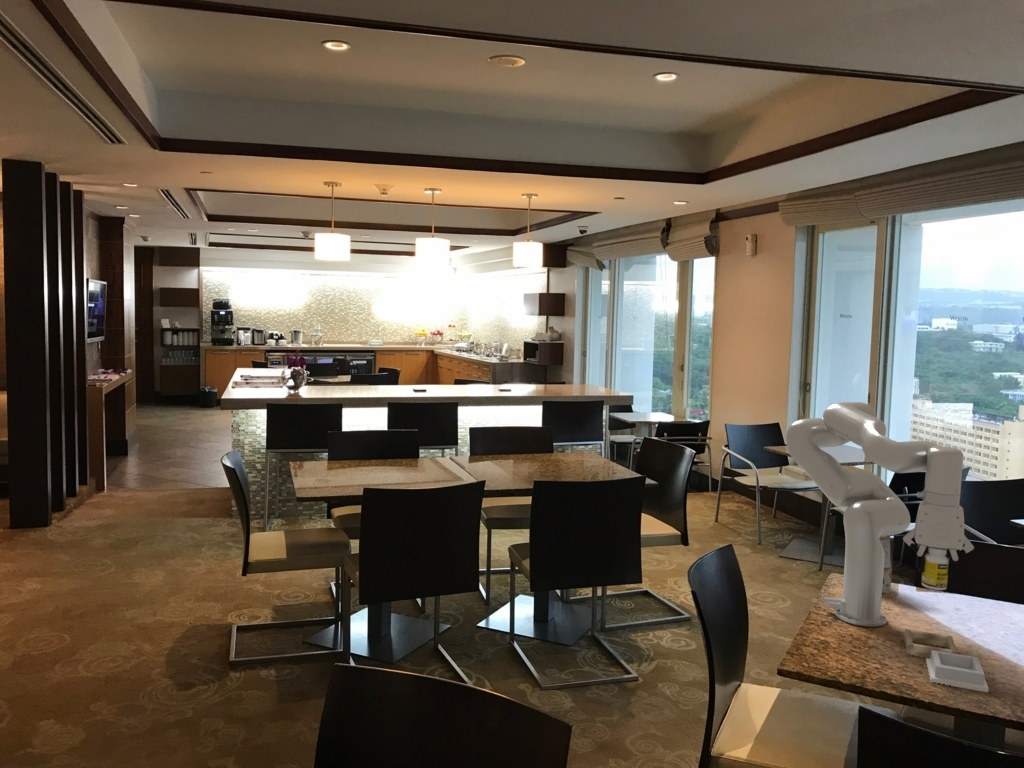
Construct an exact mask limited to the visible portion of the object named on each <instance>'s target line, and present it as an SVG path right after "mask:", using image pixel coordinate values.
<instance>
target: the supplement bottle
mask: <svg viewBox="0 0 1024 768" xmlns="http://www.w3.org/2000/svg"><path fill="white" fill-rule="evenodd" d="M927 551H928V553H925V554H924V557H925V560H924V571H923V573H921V585H922V586H923V587H925V588H926V589H929V590H933V591H945V590H947V586H948V577H949V576H948V570H949V559H948V558H949V557H947V556H946V555H947V554H948V549H943V548H935V547H927Z"/></svg>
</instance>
